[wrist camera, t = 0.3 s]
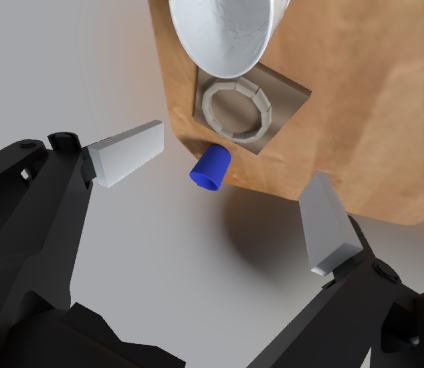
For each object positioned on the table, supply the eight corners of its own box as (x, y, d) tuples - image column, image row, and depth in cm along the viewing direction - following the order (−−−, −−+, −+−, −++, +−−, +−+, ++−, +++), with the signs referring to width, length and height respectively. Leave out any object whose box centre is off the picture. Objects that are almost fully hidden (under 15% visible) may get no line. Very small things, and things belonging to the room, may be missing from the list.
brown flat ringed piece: (206, 33, 22) (196, 43, 21) (311, 91, 22) (306, 104, 21) (196, 116, 37) (190, 125, 36) (258, 151, 37) (254, 160, 36)
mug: (201, 155, 51) (185, 181, 48) (212, 135, 40) (192, 168, 36) (223, 169, 52) (208, 195, 49) (240, 154, 41) (223, 187, 37)
